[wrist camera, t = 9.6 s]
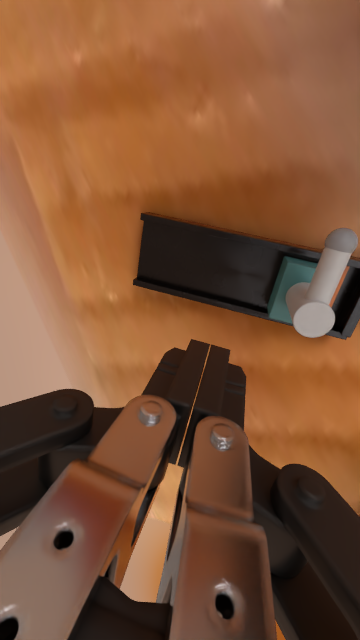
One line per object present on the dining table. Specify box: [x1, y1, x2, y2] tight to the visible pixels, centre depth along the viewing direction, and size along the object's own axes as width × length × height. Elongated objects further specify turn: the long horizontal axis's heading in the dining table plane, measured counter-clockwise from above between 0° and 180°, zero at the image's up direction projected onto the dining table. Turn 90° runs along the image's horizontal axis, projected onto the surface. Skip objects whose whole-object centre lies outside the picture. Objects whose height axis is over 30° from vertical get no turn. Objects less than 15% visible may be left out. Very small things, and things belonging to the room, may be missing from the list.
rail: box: [133, 212, 360, 340], centre depth 26 cm, size 7×21×3 cm, turn 79°
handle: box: [267, 228, 358, 338], centre depth 22 cm, size 8×4×8 cm, turn 170°
